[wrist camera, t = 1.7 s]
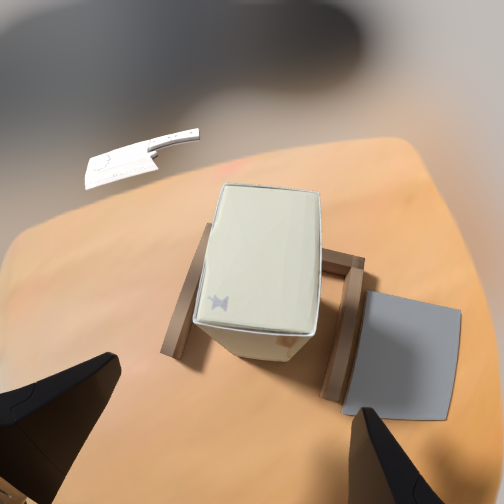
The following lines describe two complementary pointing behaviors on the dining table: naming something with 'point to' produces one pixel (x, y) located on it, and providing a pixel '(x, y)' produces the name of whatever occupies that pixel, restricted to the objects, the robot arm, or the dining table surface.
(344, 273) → the walnut cubby
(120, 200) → the dining table surface
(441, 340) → the slate coaster
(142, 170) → the white meat cleaver
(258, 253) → the skincare box
